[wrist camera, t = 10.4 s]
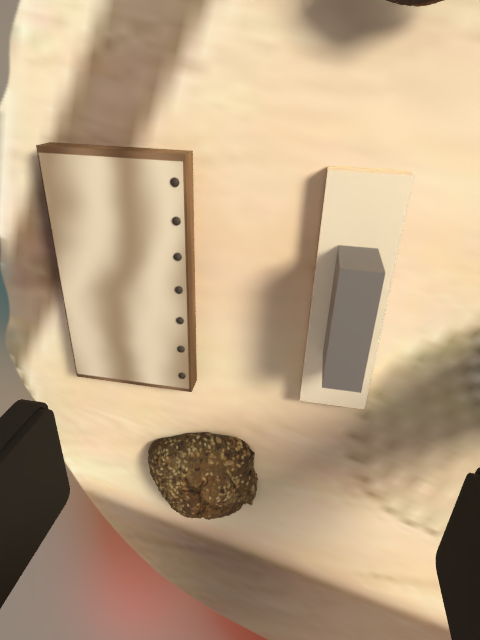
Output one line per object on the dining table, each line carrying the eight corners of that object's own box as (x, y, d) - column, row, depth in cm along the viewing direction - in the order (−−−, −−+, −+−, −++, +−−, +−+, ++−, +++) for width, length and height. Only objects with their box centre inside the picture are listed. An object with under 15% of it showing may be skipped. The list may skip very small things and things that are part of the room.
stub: (410, 171, 32) (428, 190, 27) (363, 398, 42) (368, 448, 37) (327, 166, 33) (327, 183, 27) (300, 390, 43) (296, 437, 37)
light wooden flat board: (192, 151, 34) (184, 155, 32) (196, 380, 45) (190, 393, 43) (50, 142, 36) (34, 145, 34) (86, 365, 47) (75, 377, 45)
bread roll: (143, 429, 50) (125, 461, 46) (249, 426, 47) (241, 461, 43) (171, 507, 56) (158, 543, 51) (267, 509, 53) (262, 547, 48)
